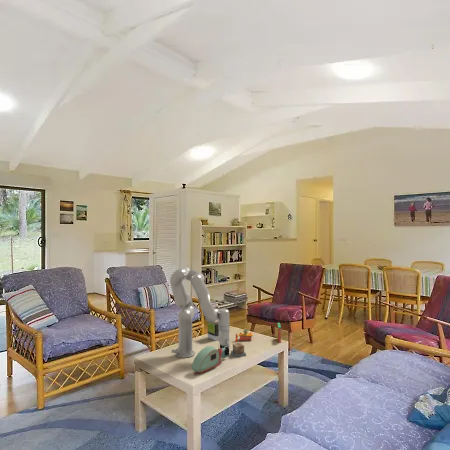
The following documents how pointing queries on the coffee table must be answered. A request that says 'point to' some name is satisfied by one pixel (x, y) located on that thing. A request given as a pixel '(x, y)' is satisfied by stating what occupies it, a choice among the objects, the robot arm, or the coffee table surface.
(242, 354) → the base plate
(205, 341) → the coffee table surface
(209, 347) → the toy snail
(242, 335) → the toy building block set
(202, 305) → the robot arm
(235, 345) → the walnut block
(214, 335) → the tea box
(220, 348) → the teal block
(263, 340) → the coffee table surface
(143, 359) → the coffee table surface
